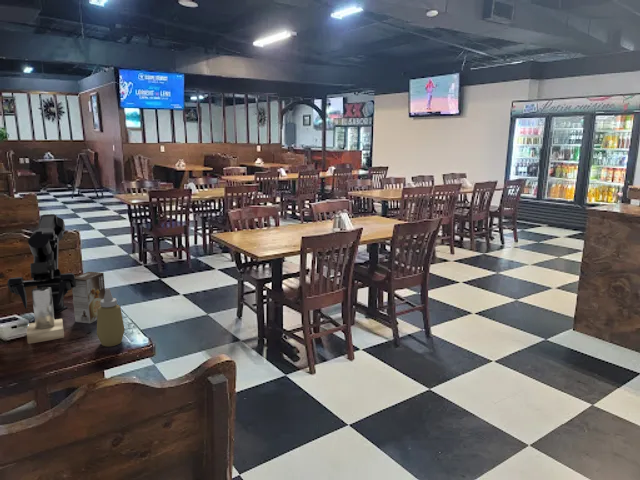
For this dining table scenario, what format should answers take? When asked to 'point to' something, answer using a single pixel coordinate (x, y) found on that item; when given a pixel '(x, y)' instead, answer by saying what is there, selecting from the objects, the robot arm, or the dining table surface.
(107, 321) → the squeeze bottle
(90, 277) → the coffee box
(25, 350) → the dining table surface
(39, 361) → the dining table surface
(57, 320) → the block
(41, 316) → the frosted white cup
